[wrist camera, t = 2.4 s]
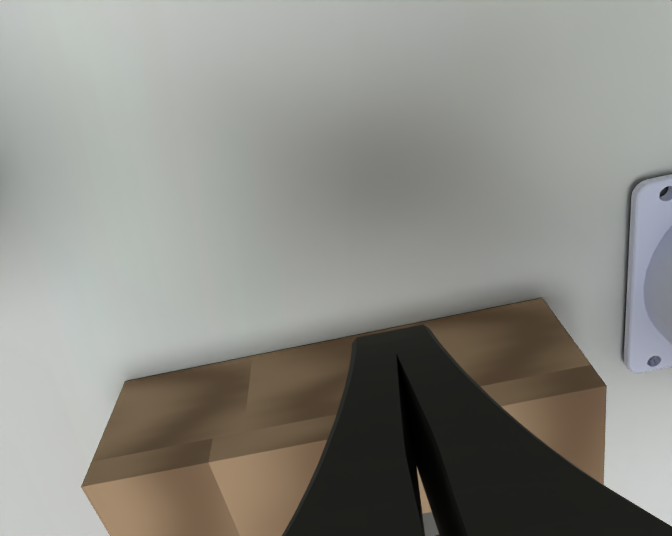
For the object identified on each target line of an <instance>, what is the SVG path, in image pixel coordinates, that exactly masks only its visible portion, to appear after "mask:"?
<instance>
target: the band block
mask: <svg viewBox="0 0 672 536" xmlns="http://www.w3.org/2000/svg"><path fill="white" fill-rule="evenodd" d="M418 325H425V326H426V327H428V328H430V330H431V331H432V333H433V334H434V335H435V337H436V338H437V339H438V341H439V342H440V343H441V344H442V346H443V347H444V348H445V349H446V351H447V352H448V353H449V354H450V355H451V356H452V357H453V359H454V360H455V361H456V362H457V363H458V364H459V365H460V366H461V367H462V369H463V370H464V371H465V372H466V373H467V374H468V375H469V376H470V377H471V378H472V379H473V380H474V381H475V382H476V383H477V384H478V385H479V386H480V387H481V388H482V389H483V390H484V391H485V392H486V393H487V394H488V395H489V396H490V397H491V398H492V399H494V400H495V401H496V402H497V403H498V404H499V405H500V406H501V407H502V408H503V409H504V410H506V411H507V412H508V413H509V414H510V415H511V416H513V417H514V418H515V419H516V420H517V421H518V422H519V423H521V424H522V425H523V426H524V427H525V428H527V429H528V430H529V431H530V432H531V433H533V434H534V435H535V436H536V437H538V438H539V439H540V440H541V441H543V442H544V443H545V444H546V445H548V446H549V447H550V448H552V449H553V450H554V451H556V452H557V453H558V454H560V455H561V456H563V457H564V458H565V459H567V460H568V461H569V462H571V463H572V464H573V465H575V466H576V467H578V468H579V469H581V470H582V471H584V472H585V473H587V474H588V475H589V476H591V477H592V478H594V479H595V480H597V481H598V482H600V483H601V484H603V485H604V452H605V419H606V385H605V383H604V382H603V380H602V379H601V378H600V376H599V375H598V374H597V372H596V371H595V369H594V368H593V367H592V365H591V364H590V363H589V361H588V360H587V358H586V357H585V356H584V354H583V353H582V352H581V350H580V349H579V347H578V346H577V345H576V343H575V342H574V341H573V339H572V338H571V336H570V335H569V334H568V332H567V331H566V330H565V328H564V327H563V325H562V324H561V323H560V321H559V320H558V319H557V317H556V316H555V314H554V313H553V312H552V310H551V309H550V308H549V306H548V305H547V303H546V302H545V301H544V299H543V298H540V299H535V300H530V301H525V302H520V303H515V304H510V305H505V306H500V307H495V308H490V309H485V310H480V311H475V312H470V313H465V314H460V315H455V316H450V317H445V318H440V319H435V320H430V321H425V322H420V323H415V324H410V325H405V326H400V327H395V328H390V329H385V330H380V331H375V332H370V333H365V334H360V335H355V336H350V337H345V338H340V339H335V340H330V341H325V342H320V343H315V344H310V345H305V346H300V347H295V348H290V349H285V350H280V351H275V352H270V353H265V354H260V355H255V356H250V357H245V358H240V359H235V360H230V361H225V362H220V363H215V364H210V365H205V366H200V367H195V368H190V369H185V370H180V371H175V372H170V373H165V374H160V375H155V376H150V377H145V378H140V379H135V380H130V381H125V383H124V385H123V388H122V390H121V392H120V395H119V397H118V400H117V402H116V404H115V407H114V409H113V412H112V414H111V416H110V419H109V421H108V424H107V426H106V428H105V431H104V433H103V436H102V438H101V440H100V443H99V445H98V448H97V450H96V452H95V455H94V457H93V460H92V462H91V464H90V467H89V469H88V472H87V474H86V476H85V479H84V481H83V484H82V486H81V488H82V489H83V491H84V493H85V494H86V496H87V498H88V499H89V501H90V503H91V504H92V506H93V508H94V509H95V511H96V513H97V515H98V516H99V518H100V520H101V521H102V523H103V525H104V526H105V528H106V530H107V531H108V533H109V535H110V536H282V535H283V533H284V531H285V529H286V527H287V526H288V524H289V522H290V520H291V519H292V517H293V515H294V513H295V511H296V509H297V507H298V505H299V503H300V501H301V499H302V497H303V495H304V493H305V491H306V489H307V487H308V485H309V483H310V481H311V478H312V476H313V474H314V472H315V469H316V467H317V465H318V462H319V460H320V458H321V455H322V452H323V450H324V447H325V445H326V442H327V439H328V437H329V434H330V432H331V429H332V426H333V424H334V421H335V418H336V414H337V411H338V408H339V404H340V401H341V398H342V395H343V391H344V388H345V384H346V379H347V375H348V371H349V366H350V360H351V352H352V343H353V342H354V340H355V339H356V338H357V337H361V336H366V335H371V334H376V333H381V332H387V331H392V330H397V329H402V328H407V327H412V326H418ZM417 474H418V482H419V490H420V498H421V506H422V514H423V522H424V530H425V536H440V535H439V532H438V529H437V526H436V523H435V520H434V517H433V514H432V511H431V508H430V505H429V502H428V499H427V496H426V493H425V490H424V487H423V484H422V481H421V478H420V475H419V472H418V469H417Z"/></svg>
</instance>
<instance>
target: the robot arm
mask: <svg viewBox="0 0 672 536" xmlns="http://www.w3.org/2000/svg"><path fill="white" fill-rule="evenodd" d="M667 186H668V187H669V189H668V192H667V193H666V194H665V195H664V196H661V197H659V195H660V192H661V191H662V189H663V188H665V187H667ZM653 356H654V357H653ZM651 357H653V358H652V359H651V360H649V359H650V358H651ZM624 364H625V366H626V367H627V368H628V369H629V370H630V371H631V372H633V373H642V372H648V371H653V370H658V369H663V368H668V367H672V174H670V175H665V176H661V177H656V178H651V179H647V180H644V181H642V182H640V183H639V184H638V185H636V187H635V188H634V190H633V192H632V196H631V217H630V238H629V259H628V280H627V302H626V323H625V344H624ZM417 469H418V472H419V475H420V478H421V481H422V484H423V487H424V490H425V493H426V496H427V499H428V502H429V505H430V508H431V511H432V514H433V517H434V520H435V523H436V526H437V529H438V532H439V535H440V536H672V526H670V525H668V524H667V523H665V522H663V521H662V520H660V519H658V518H657V517H655V516H653V515H652V514H650V513H648V512H647V511H645V510H643V509H642V508H640V507H638V506H637V505H635V504H634V503H632V502H630V501H629V500H627V499H625V498H624V497H622V496H620V495H619V494H617V493H615V492H614V491H612V490H610V489H609V488H607V487H606V486H604V485H603V484H601V483H600V482H598V481H597V480H595V479H594V478H592V477H591V476H589V475H588V474H587V473H585V472H584V471H582V470H581V469H579V468H578V467H576V466H575V465H573V464H572V463H571V462H569V461H568V460H567V459H565V458H564V457H563V456H561V455H560V454H558V453H557V452H556V451H554V450H553V449H552V448H550V447H549V446H548V445H546V444H545V443H544V442H543V441H541V440H540V439H539V438H538V437H536V436H535V435H534V434H533V433H531V432H530V431H529V430H528V429H527V428H525V427H524V426H523V425H522V424H521V423H519V422H518V421H517V420H516V419H515V418H514V417H513V416H511V415H510V414H509V413H508V412H507V411H506V410H504V409H503V408H502V407H501V406H500V405H499V404H498V403H497V402H496V401H495V400H494V399H492V398H491V397H490V396H489V395H488V394H487V393H486V392H485V391H484V390H483V389H482V388H481V387H480V386H479V385H478V384H477V383H476V382H475V381H474V380H473V379H472V378H471V377H470V376H469V375H468V374H467V373H466V372H465V371H464V370H463V369H462V367H461V366H460V365H459V364H458V363H457V362H456V361H455V360H454V359H453V357H452V356H451V355H450V354H449V353H448V352H447V351H446V349H445V348H444V347H443V346H442V344H441V343H440V342H439V341H438V339H437V338H436V337H435V335H434V334H433V333H432V331H431V330H430V328H428V327H426V326H425V325H418V326H412V327H407V328H402V329H397V330H392V331H387V332H381V333H376V334H371V335H366V336H361V337H357V338H356V339H355V340H354V342H353V343H352V352H351V360H350V366H349V371H348V375H347V379H346V384H345V388H344V391H343V395H342V398H341V401H340V404H339V408H338V411H337V414H336V418H335V421H334V424H333V426H332V429H331V432H330V434H329V437H328V439H327V442H326V445H325V447H324V450H323V452H322V455H321V458H320V460H319V462H318V465H317V467H316V469H315V472H314V474H313V476H312V478H311V481H310V483H309V485H308V487H307V489H306V491H305V493H304V495H303V497H302V499H301V501H300V503H299V505H298V507H297V509H296V511H295V513H294V515H293V517H292V519H291V520H290V522H289V524H288V526H287V527H286V529H285V531H284V533H283V535H282V536H425V530H424V522H423V514H422V506H421V498H420V490H419V482H418V474H417Z"/></svg>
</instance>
